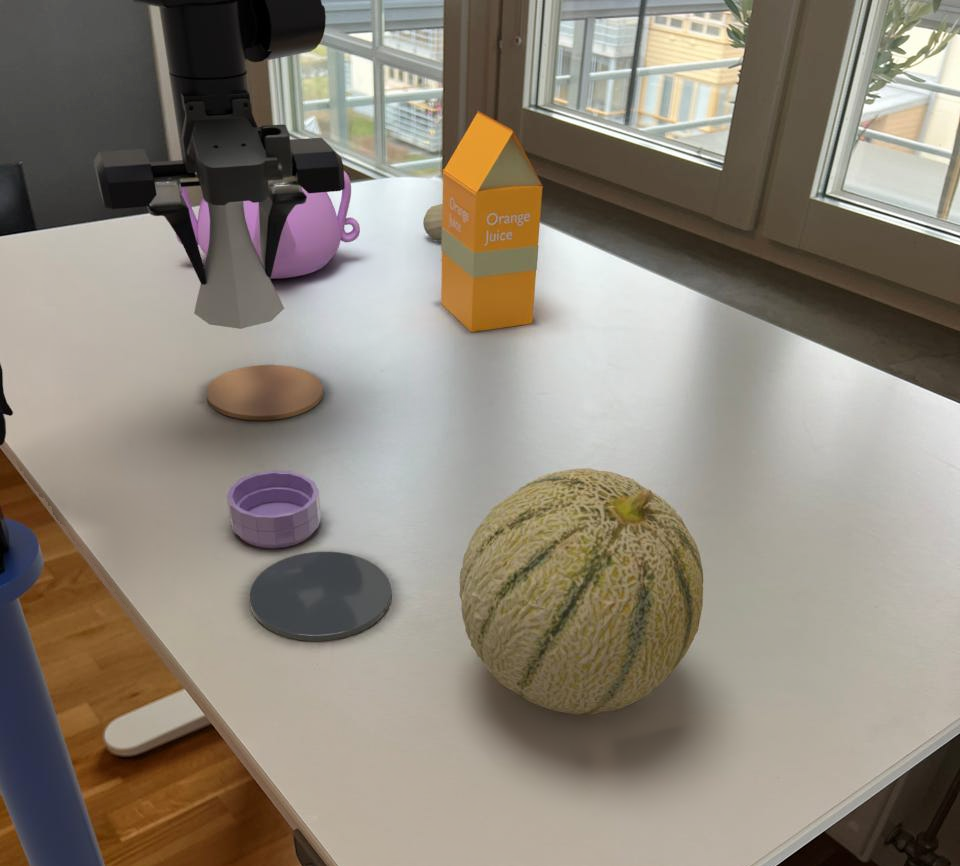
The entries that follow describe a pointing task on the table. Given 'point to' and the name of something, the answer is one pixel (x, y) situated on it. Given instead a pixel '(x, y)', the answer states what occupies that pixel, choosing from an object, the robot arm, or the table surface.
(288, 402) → the cork coaster
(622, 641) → the cantaloupe
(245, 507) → the dish
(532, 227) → the orange juice
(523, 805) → the table surface
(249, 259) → the flask
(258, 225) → the teapot
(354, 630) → the slate coaster
